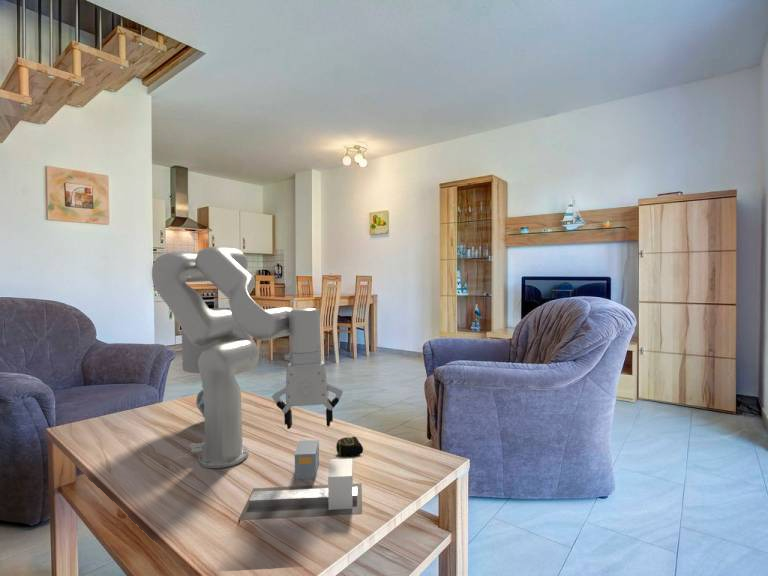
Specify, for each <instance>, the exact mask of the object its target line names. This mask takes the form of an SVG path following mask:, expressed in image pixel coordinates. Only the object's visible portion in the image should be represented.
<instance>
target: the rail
mask: <svg viewBox="0 0 768 576" xmlns="http://www.w3.org/2000/svg"><path fill="white" fill-rule="evenodd" d="M249 497H250V496H249ZM352 498H353V502H357V487H353V494H352ZM248 499H249V498H248ZM311 504H329V502H328V488H322V489H300V490H279V491H257V492H253V493H252V495H251V497H250V499H249V507H270V506H290V505H311Z"/></svg>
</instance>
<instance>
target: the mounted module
mask: <svg viewBox="0 0 768 576" xmlns="http://www.w3.org/2000/svg"><path fill="white" fill-rule="evenodd" d="M353 460H354V459H353V458H351V457H350V458H334V459H332V458H331V459H330V461H329V468H328V473H327V485H328V502H329V510H333V509H353V498H352V494H353V484H354V478H353V475H354V470H353Z"/></svg>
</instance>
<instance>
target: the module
mask: <svg viewBox="0 0 768 576" xmlns="http://www.w3.org/2000/svg"><path fill="white" fill-rule="evenodd" d="M319 464H320V441H319V439H314V440H313V439H312V440H306V439H305V440H298V443H297V447H296V449H295V453H294V479H295V480H301V479H303V480H304V479H317V472H318V471H317V470H318V466H319Z"/></svg>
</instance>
